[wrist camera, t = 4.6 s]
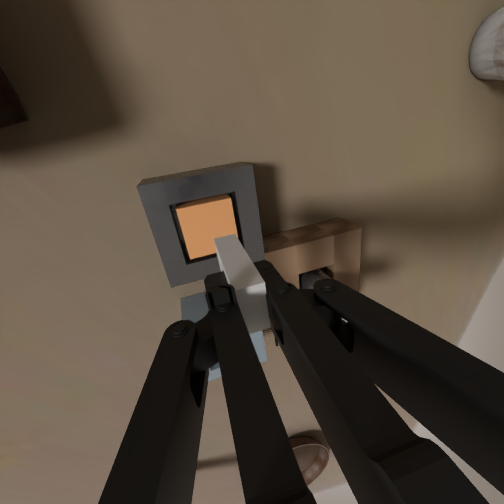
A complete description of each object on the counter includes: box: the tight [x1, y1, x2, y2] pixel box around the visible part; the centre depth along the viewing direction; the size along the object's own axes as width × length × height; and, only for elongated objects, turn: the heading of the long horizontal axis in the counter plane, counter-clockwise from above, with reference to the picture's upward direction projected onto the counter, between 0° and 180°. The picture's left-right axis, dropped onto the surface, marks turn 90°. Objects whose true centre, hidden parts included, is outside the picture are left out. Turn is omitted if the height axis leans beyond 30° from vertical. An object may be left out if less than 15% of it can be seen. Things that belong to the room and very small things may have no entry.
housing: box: [137, 162, 265, 288], centre depth 25 cm, size 10×10×4 cm
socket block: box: [262, 218, 362, 333], centre depth 32 cm, size 12×12×4 cm
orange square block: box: [176, 193, 238, 259], centre depth 25 cm, size 5×5×4 cm
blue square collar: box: [181, 292, 267, 381], centre depth 30 cm, size 8×8×6 cm
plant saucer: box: [289, 437, 329, 486], centre depth 51 cm, size 18×18×3 cm
